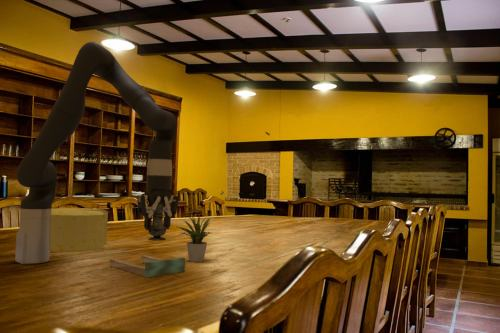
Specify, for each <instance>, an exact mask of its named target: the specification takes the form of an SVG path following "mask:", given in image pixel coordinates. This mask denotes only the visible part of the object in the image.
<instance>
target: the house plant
mask: <svg viewBox="0 0 500 333" xmlns="http://www.w3.org/2000/svg"><path fill="white" fill-rule="evenodd" d="M188 218H189V219H190V221H191V223H192V224H190V223H189V222H188V221H187V220H184V219H179V220H181V222H183V223H185V224H186V225H187V226H188V227H189V229H188V228H187V227H182V226H176V228H177V229H180V230H178V231H179V232H181V231H183V232H181V233H179V236H181V235H186V236H188V237H189V238H190V240H191V241H187V242H186V248H187V255H188V256H187V258H188V262H192V263H202V262H204V261H205V256H206V251H207V246H208V242H206V241H203V240H204V239H205V237H207V236H208V235H210V234H211V232H210V231H206V230H207V228H208V227H209V226H210V224H211V222H210V221H211V219H212V217H204V218H203V220H202V221H201V216H200V214H198V219H197V220H196V219H195V218H194V217H192V216H188ZM200 221H201V223H200ZM192 225H193V227H192Z"/></svg>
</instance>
